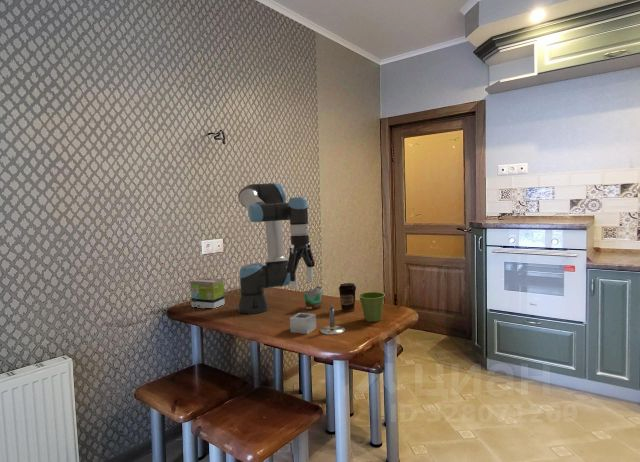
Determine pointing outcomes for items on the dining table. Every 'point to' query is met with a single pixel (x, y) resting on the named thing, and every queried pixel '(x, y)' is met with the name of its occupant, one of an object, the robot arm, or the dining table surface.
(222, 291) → the tea box
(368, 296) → the plant pot
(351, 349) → the dining table surface
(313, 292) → the food container
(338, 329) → the post
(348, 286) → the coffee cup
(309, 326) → the collar
